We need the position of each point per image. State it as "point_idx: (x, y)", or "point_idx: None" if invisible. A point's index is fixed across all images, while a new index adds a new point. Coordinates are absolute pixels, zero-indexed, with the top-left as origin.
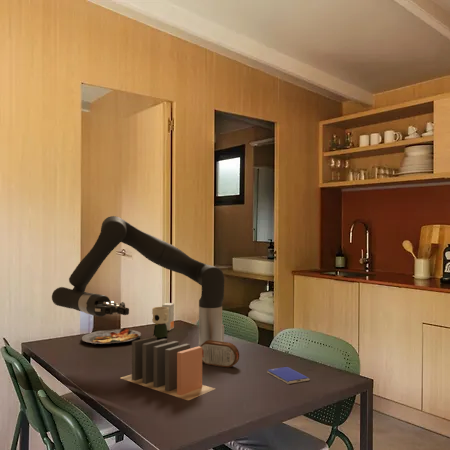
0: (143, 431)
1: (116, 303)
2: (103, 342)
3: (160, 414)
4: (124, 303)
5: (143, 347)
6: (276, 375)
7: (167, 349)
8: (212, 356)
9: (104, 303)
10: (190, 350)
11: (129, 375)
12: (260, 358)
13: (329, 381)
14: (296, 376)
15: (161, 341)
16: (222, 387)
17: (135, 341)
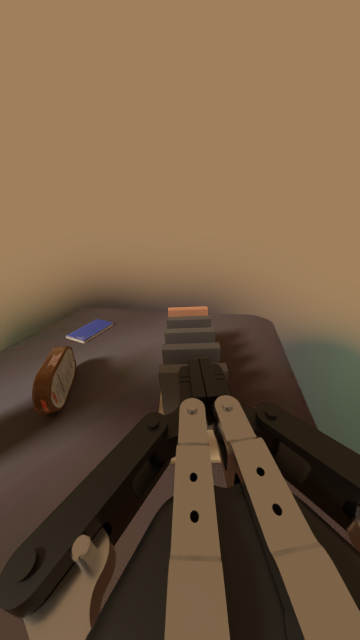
0: (272, 332)
1: (194, 454)
2: None
3: (245, 341)
4: (74, 491)
5: (219, 352)
6: (98, 332)
7: (208, 317)
8: (62, 384)
9: (341, 594)
10: (190, 307)
11: (212, 456)
12: (12, 371)
13: (95, 315)
14: (98, 323)
15: (178, 344)
16: (152, 345)
17: (222, 366)
